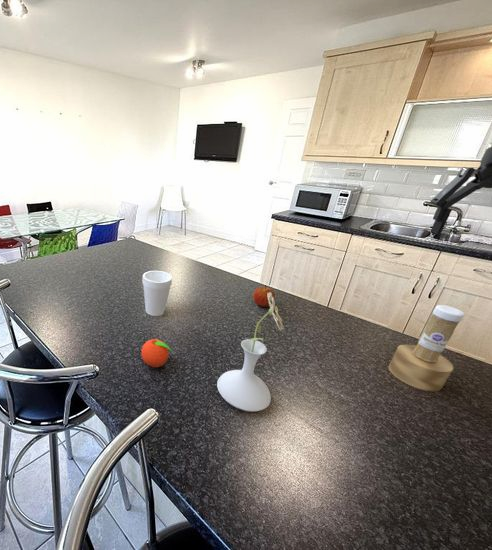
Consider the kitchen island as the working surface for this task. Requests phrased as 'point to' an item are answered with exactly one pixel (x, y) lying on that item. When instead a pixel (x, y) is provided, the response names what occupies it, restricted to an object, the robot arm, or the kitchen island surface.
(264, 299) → the fruit
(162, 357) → the clementine
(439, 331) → the sprinkles bottle
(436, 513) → the kitchen island surface
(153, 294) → the foam cup
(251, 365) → the flower in vase
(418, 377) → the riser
